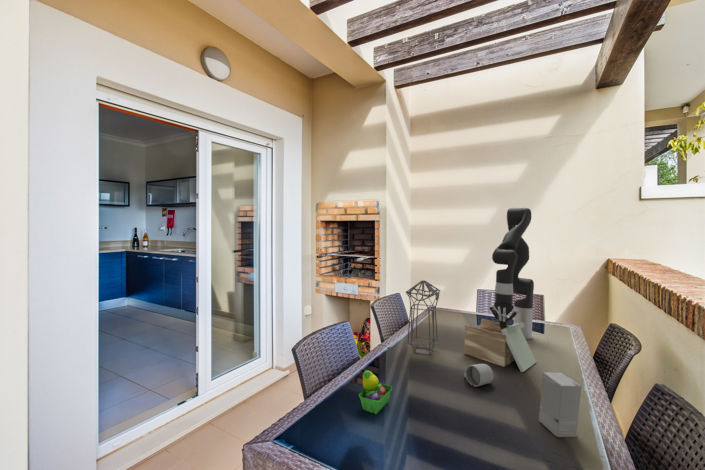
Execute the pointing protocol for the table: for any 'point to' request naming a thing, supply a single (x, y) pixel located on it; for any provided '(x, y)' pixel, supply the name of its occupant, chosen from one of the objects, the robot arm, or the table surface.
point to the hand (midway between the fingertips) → (503, 329)
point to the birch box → (488, 343)
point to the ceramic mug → (479, 374)
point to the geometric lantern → (423, 309)
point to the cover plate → (519, 346)
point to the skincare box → (559, 404)
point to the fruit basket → (374, 393)
